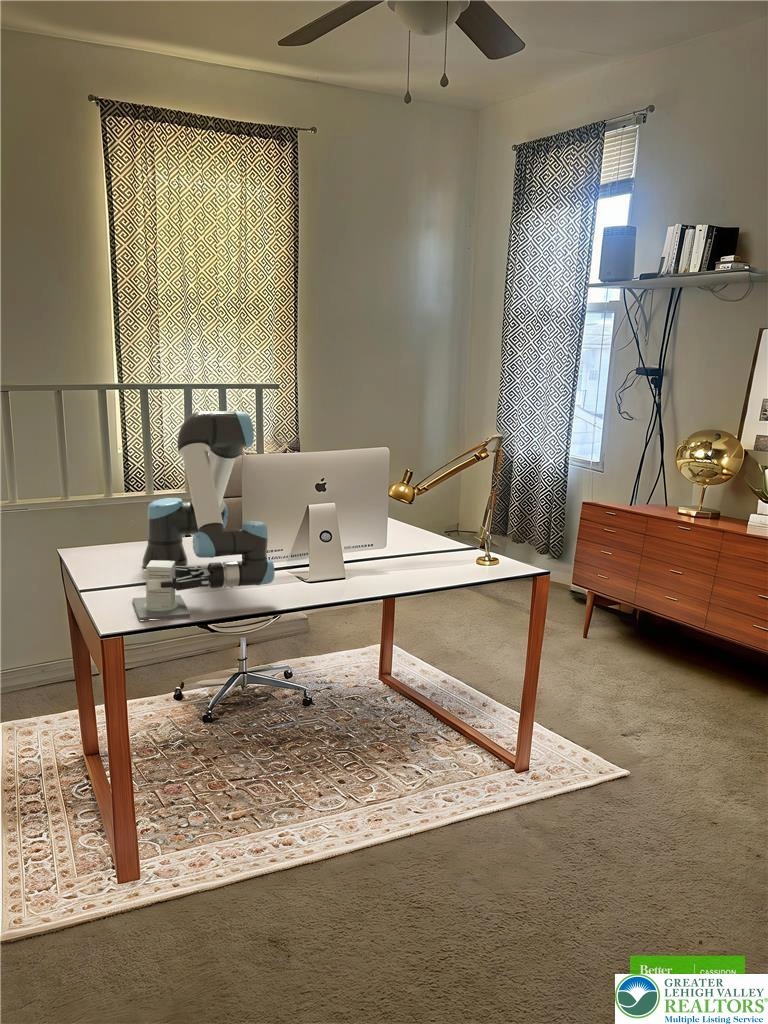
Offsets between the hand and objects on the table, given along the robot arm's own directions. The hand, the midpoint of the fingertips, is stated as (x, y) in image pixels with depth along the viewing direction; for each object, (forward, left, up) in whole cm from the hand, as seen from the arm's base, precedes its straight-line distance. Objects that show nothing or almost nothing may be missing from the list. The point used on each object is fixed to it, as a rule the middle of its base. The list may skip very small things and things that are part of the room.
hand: (145, 579), depth 229 cm
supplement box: (0, +4, -8) cm, 9 cm away
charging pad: (0, +4, -9) cm, 10 cm away
